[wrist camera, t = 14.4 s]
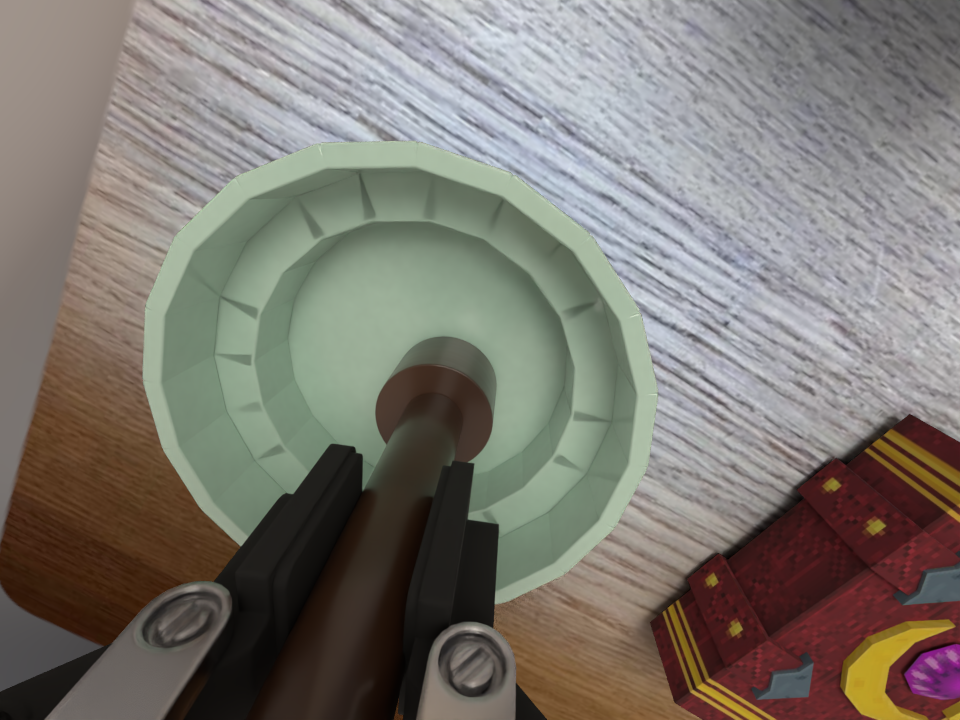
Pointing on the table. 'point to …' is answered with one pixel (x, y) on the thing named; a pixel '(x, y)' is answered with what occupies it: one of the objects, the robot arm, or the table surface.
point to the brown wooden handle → (382, 543)
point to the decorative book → (834, 598)
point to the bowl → (399, 341)
